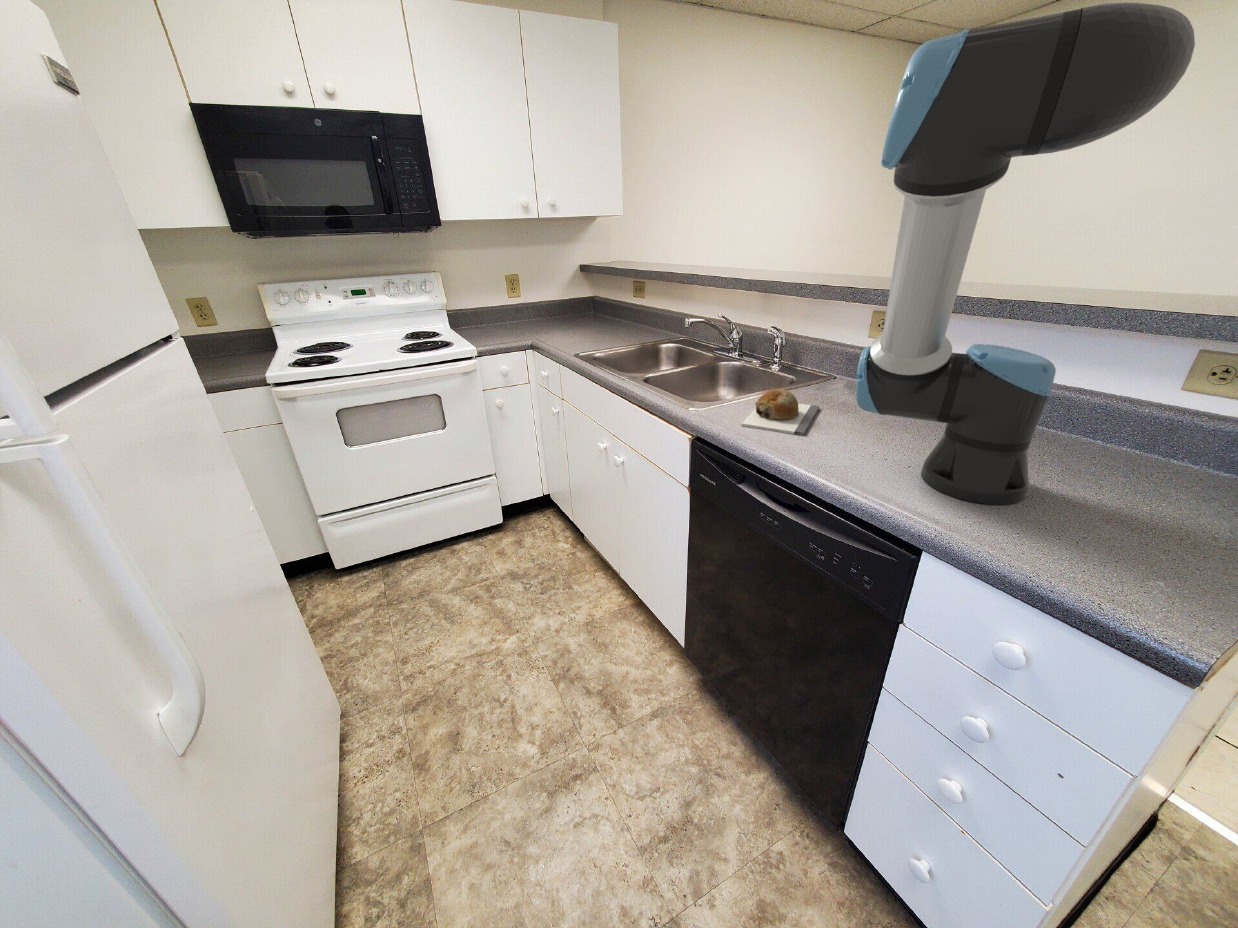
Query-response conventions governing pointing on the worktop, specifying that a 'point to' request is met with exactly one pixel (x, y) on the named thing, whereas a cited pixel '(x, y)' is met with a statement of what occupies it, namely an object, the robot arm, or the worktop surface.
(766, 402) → the bread roll
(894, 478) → the worktop surface
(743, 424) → the mat
